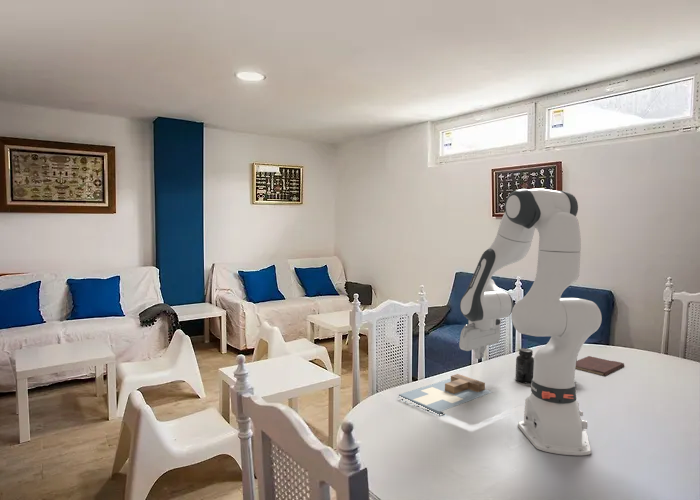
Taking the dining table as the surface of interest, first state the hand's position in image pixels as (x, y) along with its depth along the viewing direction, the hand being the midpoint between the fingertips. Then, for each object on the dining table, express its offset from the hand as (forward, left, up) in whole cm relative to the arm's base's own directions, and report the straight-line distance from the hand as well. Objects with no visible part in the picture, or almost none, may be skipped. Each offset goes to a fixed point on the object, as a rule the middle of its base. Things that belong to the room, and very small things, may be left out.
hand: (479, 358), depth 173 cm
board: (-15, +12, -10) cm, 22 cm away
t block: (-9, +7, -9) cm, 15 cm away
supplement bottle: (+9, -18, -11) cm, 23 cm away
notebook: (+34, -51, -11) cm, 62 cm away
